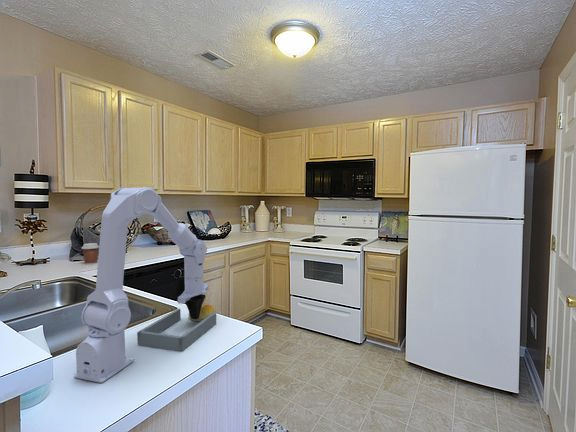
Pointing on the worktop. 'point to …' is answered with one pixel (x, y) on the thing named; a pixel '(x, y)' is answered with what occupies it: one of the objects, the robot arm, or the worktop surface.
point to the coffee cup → (90, 253)
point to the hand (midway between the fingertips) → (194, 318)
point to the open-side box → (179, 343)
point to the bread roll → (205, 312)
